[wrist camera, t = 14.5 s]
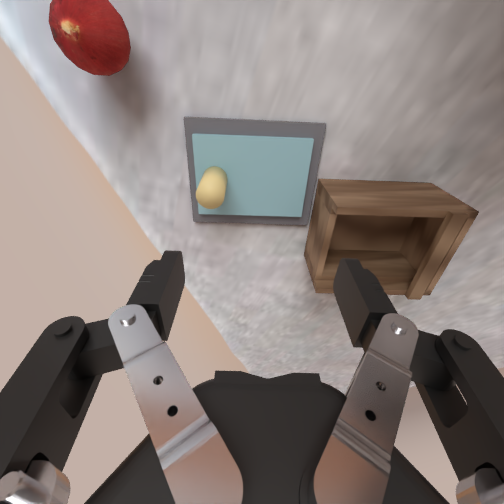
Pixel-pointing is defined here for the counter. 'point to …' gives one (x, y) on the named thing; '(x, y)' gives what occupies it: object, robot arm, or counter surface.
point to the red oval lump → (90, 34)
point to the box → (385, 232)
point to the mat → (255, 129)
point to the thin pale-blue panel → (251, 174)
